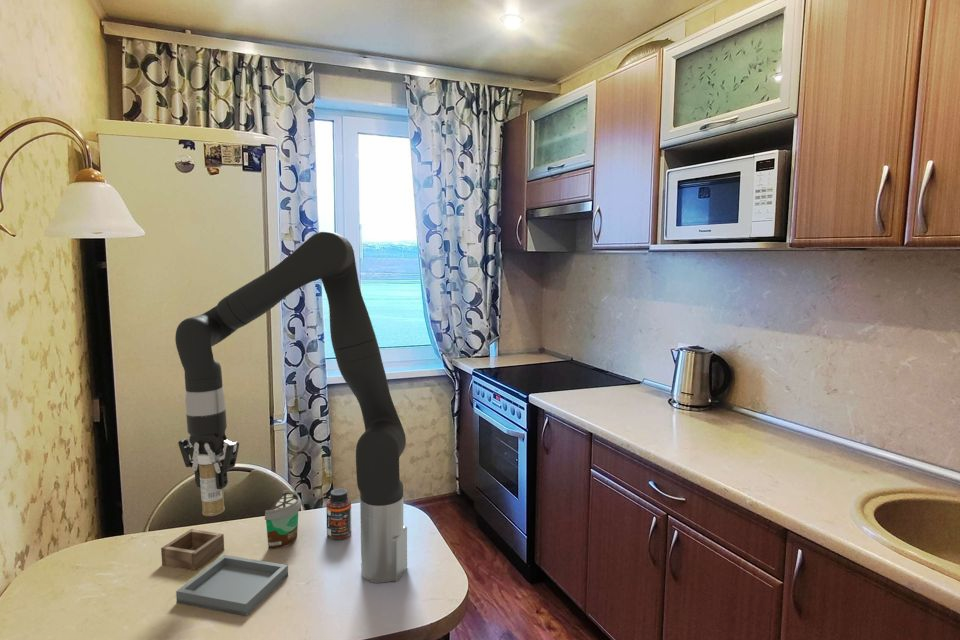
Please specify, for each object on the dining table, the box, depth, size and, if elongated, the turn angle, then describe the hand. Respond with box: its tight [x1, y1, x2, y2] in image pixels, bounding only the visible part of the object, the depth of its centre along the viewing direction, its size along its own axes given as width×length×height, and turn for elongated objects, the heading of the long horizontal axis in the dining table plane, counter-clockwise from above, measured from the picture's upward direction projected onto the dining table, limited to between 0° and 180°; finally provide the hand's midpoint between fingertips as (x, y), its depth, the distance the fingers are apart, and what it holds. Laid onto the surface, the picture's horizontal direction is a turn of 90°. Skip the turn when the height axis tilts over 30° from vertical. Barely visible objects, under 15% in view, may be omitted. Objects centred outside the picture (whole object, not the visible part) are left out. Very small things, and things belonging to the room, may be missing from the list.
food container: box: [264, 489, 302, 550], centre depth 136 cm, size 12×6×10 cm, turn 179°
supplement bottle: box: [326, 488, 352, 541], centre depth 138 cm, size 6×6×11 cm
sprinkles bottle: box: [197, 453, 226, 517], centre depth 120 cm, size 5×5×14 cm
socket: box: [160, 528, 225, 572], centre depth 128 cm, size 9×9×4 cm
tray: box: [175, 554, 289, 617], centre depth 116 cm, size 16×14×2 cm
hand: (211, 486), depth 120 cm, fingers closed on sprinkles bottle, 4 cm apart
